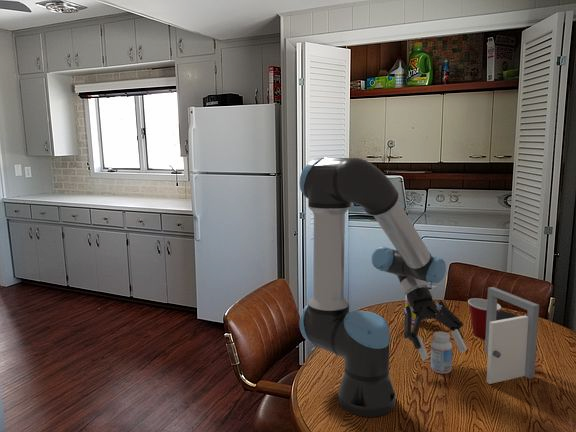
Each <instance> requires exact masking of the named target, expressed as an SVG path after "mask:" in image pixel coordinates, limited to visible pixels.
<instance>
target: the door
mask: <svg viewBox="0 0 576 432" xmlns="http://www.w3.org/2000/svg"><path fill="white" fill-rule="evenodd" d="M527 333H528V317H527V315H519V316H517V317H514V318H508V319H503V320H497V321H492V322H489V342H488V354H487V362H486V363H487V365H486V383H488V384H489V385H491V384H495V383H499V382H503V381H504V382H505V381H508V380H513V379H517V378H522V377H525V364H526V348H527Z"/></svg>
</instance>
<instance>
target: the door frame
mask: <svg viewBox="0 0 576 432" xmlns="http://www.w3.org/2000/svg"><path fill="white" fill-rule="evenodd" d="M498 299H499V300H502V301H504V302H506V303H508V304H511V305H514V306H517V308H518V307H519V308H521V309H524V310H526V311H527V314H526V316H527V317H528V333H527V348H526V364H525V376H524V377H525V378H527V379H529V380H530V379H533V378H535V372H536V360H537V359H536V358H537V357H536V355H537V346H538V345H537V343H538V330H539V329H538V328H539V314H540V304H538V303H535V302H532V301H530V300H527V299H524V298H522V297H520V296H518V295H515V294H512V293H510V292H508V291H504V290H503V289H499V288H497V287H495V286H492V287H487V298H486V300H487V317H486V338H484V339H485V343H484V353H485V354H487V355H488V342H489V322H492V321H496V313H497V303H498Z"/></svg>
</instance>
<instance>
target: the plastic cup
mask: <svg viewBox="0 0 576 432" xmlns="http://www.w3.org/2000/svg"><path fill="white" fill-rule="evenodd" d="M467 303H468V306H469V313H470V321H471V322H470V323H471V327H472V333H473V336H475V337H476V338H480V339H485V338H486V317H487V299H484V298H477V297H476V298H469V299H468V300H467ZM499 310H502V306H501V305H500V304H499V303H498V302H497V313H496V316H497V314H498V312H499Z"/></svg>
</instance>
